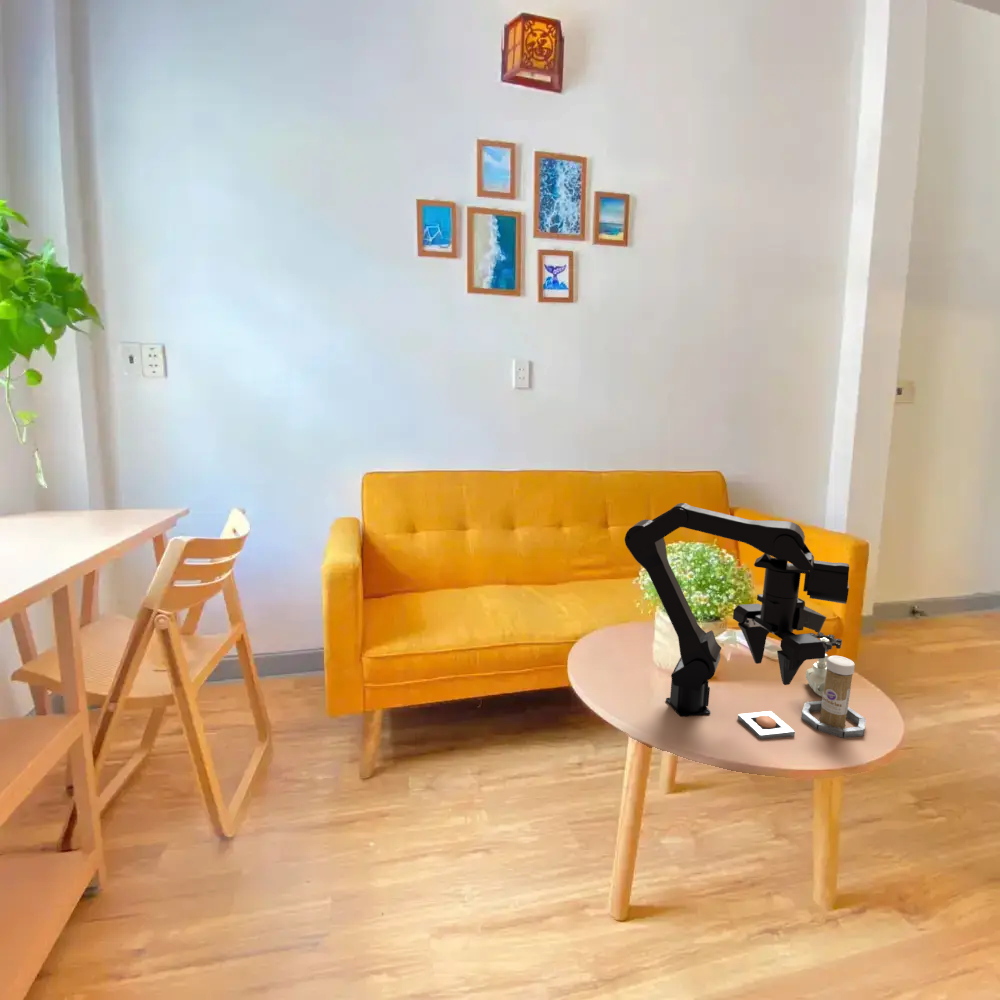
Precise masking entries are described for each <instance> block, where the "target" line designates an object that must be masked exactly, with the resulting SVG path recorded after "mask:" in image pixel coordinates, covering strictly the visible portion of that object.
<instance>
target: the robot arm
mask: <svg viewBox="0 0 1000 1000" xmlns="http://www.w3.org/2000/svg"><path fill="white" fill-rule="evenodd" d="M680 528H685V529H688V530H692V531H696V532H701V533H703V534H709V535H713V536H717V537H721V538H725V539H729V540H732V541H737V542H740V543H744V544H747V545H749V546H751V547H753V548H755V549H756V550H757V551H759V552H761V553H763V554H762V555H761V556H759V557H756V559H755V562H754V563H753V565H754V567H755V568H760V569H761V568H762V569H764V570H765V571H764V580H763V589H762V593H759V594H758V593H757V595H756V596H757V598H756V601H758V602H760V603H761V604H760V603H749V604H746V603H745V604H738V605H736V607H734V609H733V612H732V613H733V615H732V619H733V620H734V621H736V622H738V623H737V625H738V628H740V629H741V633H742V634H743V637H744V639H745V641H746V644H747V646H748V649H749V652H750V653H751V656H752V659H753V661H754V663H755V664H756V665H757V664H762V662H763V658H764V654H765V652H764V651H765V648H766V642H767V636H768V635H769V634H771V635H775V636H776V637H778V638H779V639H781V640H780V650H776V653H777V658H778V659H777V660H778V665H779V670H780V671H779V672H780V679H781V682H782V684H783V685H784V686H788V685H790V684H791V682H792V681H793V679H794V677H795V676H796V674H797V672H798V671H799V669H800V667H802V665H803V664H804V662H805V661H808V660H818V659H821V658H825V654H827V652H826V645H825V644H824V643H823V642H822V641H820V638H815V637H814V636H812V635H810V634H809V633H799V634H798V633H797V634H796V633H794V631H795V630H796V631H804V628H806V629H809V630H812V631H814V632H816V633H820V632H821V630H822V628H823V626H824V624H825V621H826V619H827V616H826V615H824V614H822V613H820V612H819V611H816V610H814V609H812V608H810V607H808V606H806V601H805V600H803V599H801V598H799V593H800V591H799V590H800V584H801V574H804V583H803V589H802V591H803V592H805V593H806V596H809V599H813V600H820V601H825V602H826V601H827V602H832V603H837V604H844V605H847V602H848V597H849V590H850V589H849V588H850V585H849V573H850V565H849V563H847V562H846V563H845V562H831V561H830V562H829V561H823V560H815V556H814V554H813V553H812V551H811V550H810V548H808V545H807V544H806V543H805V541H806V540H805V539H806V536H805V533H804V531H803V529H802V528H801V526H800V525H799V524H797V523H795V522H793V521H785V520H773V519H772V520H770V519H769V520H754V519H747V518H743V517H739V516H736V515H731V514H727V513H724V512H718V511H714V510H709V509H706V508H701V507H696V506H692V505H690V504H688V503H684V502H680V503H677V504H676V505H674V506H673V507H672V508H670V509H668V511H667V510H666V511H665V512H663V513H661V514H660V515H658V516H657V517H655V518H653V519H652V520H651V519H642V520H640V521H638V522H636V523H635V524H634V525H633V526H631V527H630V528H628V530H627V532H626V534H625V537H624V543H625V546H626V548H627V550H628V551H629V553H630V554H631V555H632V557H633V558H634V560H635V561H636V562H637V564H639V565H640V566H641V567H642V568H644V569H645V571H646V572H647V574H648V576H649V578H650V581H651V582H652V585H653V586H654V588H655V591H656V593H657V596H658V598H659V599H660V602H661V604H662V606H663V608H664V610H665V612H666V614H667V616H668V619H669V621H670V624H671V625H672V627H673V629H674V631H675V633H676V635H677V639H678V646H679V654H680V658H679V659H678V661H677V663H676V665H675V667H674V669H673V671H672V673H671V676H670V677H671V683H670V695H669V697H666V698H665V701H666V703H667V704H668V705H669V707H671V709H673V711H674V712H676V714H677V715H678V716H679V717H682V718H684V717H696V716H705V715H711V710H710V709H709V708H708V706H709V703H710V702H709V701H710V692H711V691H710V690H711V688H710V686H709V683H710V682H709V680H711V679H712V678H713V677H714V675H715V673H716V672H717V669H718V666H719V663H720V660H721V652H722V651H721V650H722V646H721V645H719V643H718V642H717V639H716V636H715V633H714V631H713V630H709V631H708V632H706V631H704V630H703V629H702V628H701V626H700V625H699V624H698V621H697V619H696V617H695V615H694V613H693V610H692V609H691V606H690V605H689V603H688V601H687V598H686V596H685V594H684V592H683V590H682V588H681V586H680V584H679V582H678V580H677V577H676V575H675V573H674V571H673V569H672V567H671V565H670V563H669V559H668V554H667V546H666V541H665V538H666V536H668V535H669V534H671V533H673V532H674V531H677V530H678V529H680Z"/></svg>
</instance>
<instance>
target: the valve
mask: <svg viewBox="0 0 1000 1000" xmlns="http://www.w3.org/2000/svg"><path fill="white" fill-rule="evenodd" d="M816 633H817V634H815V633H813V632H809V633H808V634H810V635H812V636H814V637H815V638H817V639H819V640H820V641H822V642H823V643H824V644H825V645H826V654H825V658H821V659H817V661H816V662H814V663H813V665H812V667H810V668H808V669H806V673H805V679H806V680H807V682H808V686H809V687H810V688H811V689H812V690H813V692H814V693H815V694H817V695H818V696H820V697H821V698H822V697H823V691H824V685H825V679H826V672H827V667H826V664H827V659H828V657H829V655H828V654H827V653H828V652H829V651H830V650H832V649H833V647H834V646H836V647H835V649H840V650H841V649H842V642H843V640H842V639H841V638H835V635H834V634H828V635H826V634H824V632H822V631H820V633H818V632H816Z"/></svg>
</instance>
